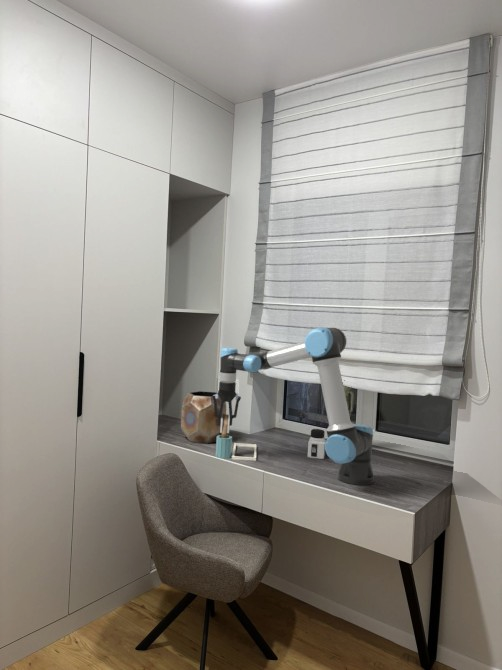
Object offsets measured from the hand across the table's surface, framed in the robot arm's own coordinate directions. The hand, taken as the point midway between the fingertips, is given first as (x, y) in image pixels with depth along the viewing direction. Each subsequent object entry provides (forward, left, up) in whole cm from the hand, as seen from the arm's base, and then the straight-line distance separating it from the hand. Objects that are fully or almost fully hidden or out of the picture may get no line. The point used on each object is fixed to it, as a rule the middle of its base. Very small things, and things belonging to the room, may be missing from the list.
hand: (224, 432), depth 238 cm
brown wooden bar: (-1, 0, -10) cm, 10 cm away
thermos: (+28, -58, -12) cm, 65 cm away
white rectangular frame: (+6, -10, -12) cm, 16 cm away
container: (+11, -44, -12) cm, 47 cm away
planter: (+31, +13, -12) cm, 35 cm away
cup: (-2, 0, -12) cm, 12 cm away
